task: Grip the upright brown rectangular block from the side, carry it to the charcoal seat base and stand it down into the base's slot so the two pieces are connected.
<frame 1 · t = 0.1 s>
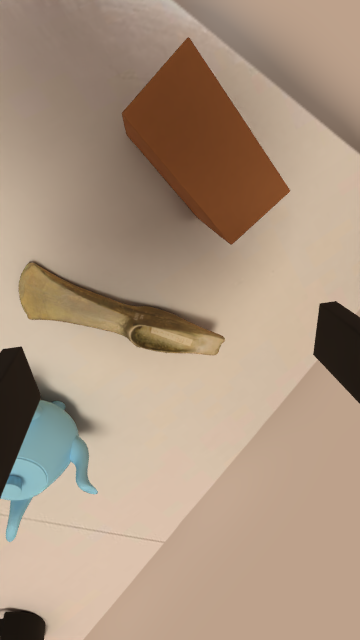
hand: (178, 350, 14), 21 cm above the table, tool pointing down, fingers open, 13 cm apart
tool: (125, 305, 35), on the table
brown rectangular block: (183, 159, 29), on the table
teapot: (37, 418, 40), on the table
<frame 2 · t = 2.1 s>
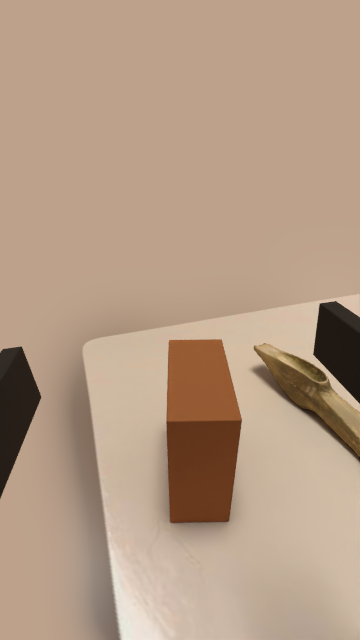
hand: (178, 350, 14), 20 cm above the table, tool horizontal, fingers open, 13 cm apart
tool: (318, 418, 36), on the table
brown rectangular block: (196, 468, 30), on the table
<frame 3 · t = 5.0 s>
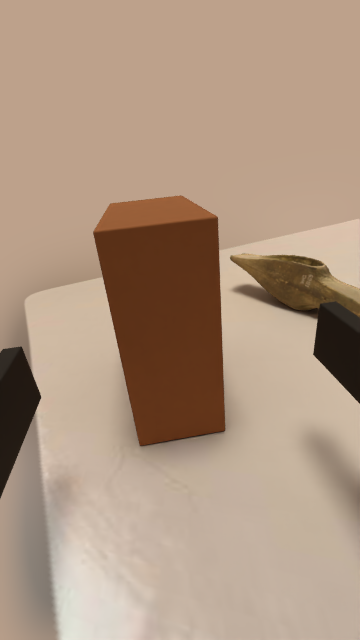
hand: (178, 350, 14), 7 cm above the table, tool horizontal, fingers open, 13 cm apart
tool: (320, 317, 29), on the table
brown rectangular block: (172, 383, 22), on the table
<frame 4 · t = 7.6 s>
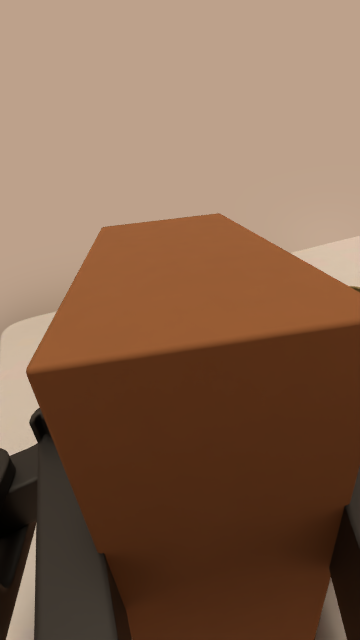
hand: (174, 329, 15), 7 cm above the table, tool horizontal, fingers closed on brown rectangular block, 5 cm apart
brown rectangular block: (202, 511, 14), on the table, touching gripper
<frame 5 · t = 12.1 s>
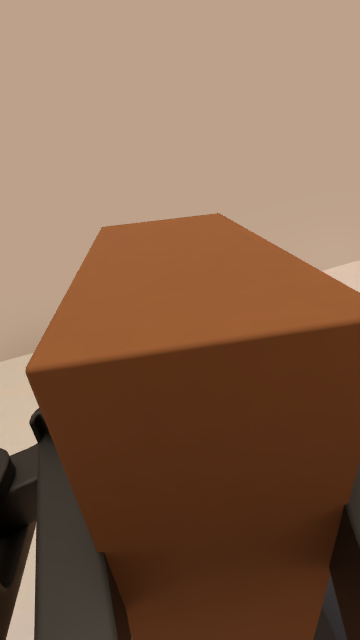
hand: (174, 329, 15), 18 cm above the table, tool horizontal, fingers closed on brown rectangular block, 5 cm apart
brown rectangular block: (201, 511, 14), point 12 cm above the table, touching gripper
when the fingers open (8 cm above the table, at t = 16.7 s): brown rectangular block stays where it is, resting on seat base.
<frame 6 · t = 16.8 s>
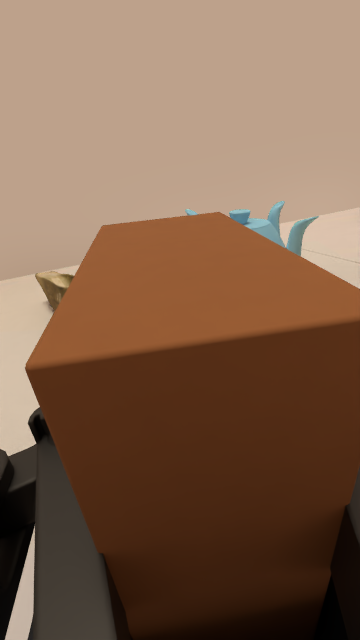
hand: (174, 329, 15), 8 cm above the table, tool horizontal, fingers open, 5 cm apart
tool: (77, 328, 35), on the table
brown rectangular block: (201, 511, 14), point 1 cm above the table, touching seat base
teapot: (238, 296, 39), on the table
seat base: (202, 530, 15), on the table
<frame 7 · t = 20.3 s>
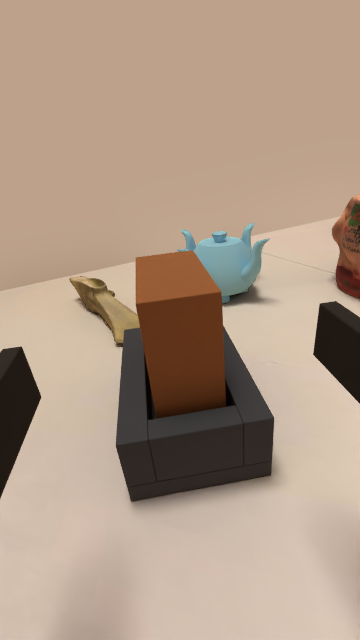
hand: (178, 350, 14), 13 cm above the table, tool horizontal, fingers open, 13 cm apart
tool: (103, 317, 49), on the table
brown rectangular block: (185, 399, 27), point 1 cm above the table, touching seat base
teapot: (220, 293, 52), on the table
seat base: (186, 412, 28), on the table
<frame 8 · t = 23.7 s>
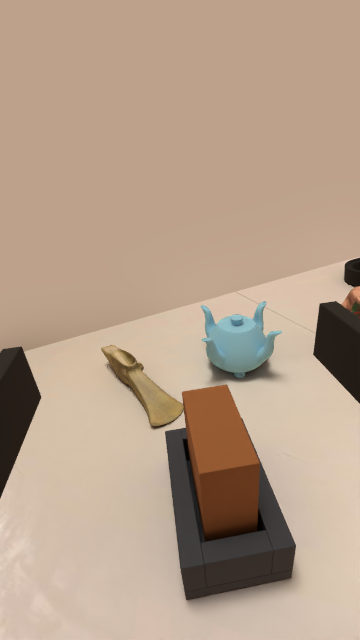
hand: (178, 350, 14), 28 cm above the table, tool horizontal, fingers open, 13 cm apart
tool: (134, 389, 55), on the table
brown rectangular block: (219, 500, 34), point 1 cm above the table, touching seat base
teapot: (236, 364, 59), on the table
seat base: (219, 508, 35), on the table
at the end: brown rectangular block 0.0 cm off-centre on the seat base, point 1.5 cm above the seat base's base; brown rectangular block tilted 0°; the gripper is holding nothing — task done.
